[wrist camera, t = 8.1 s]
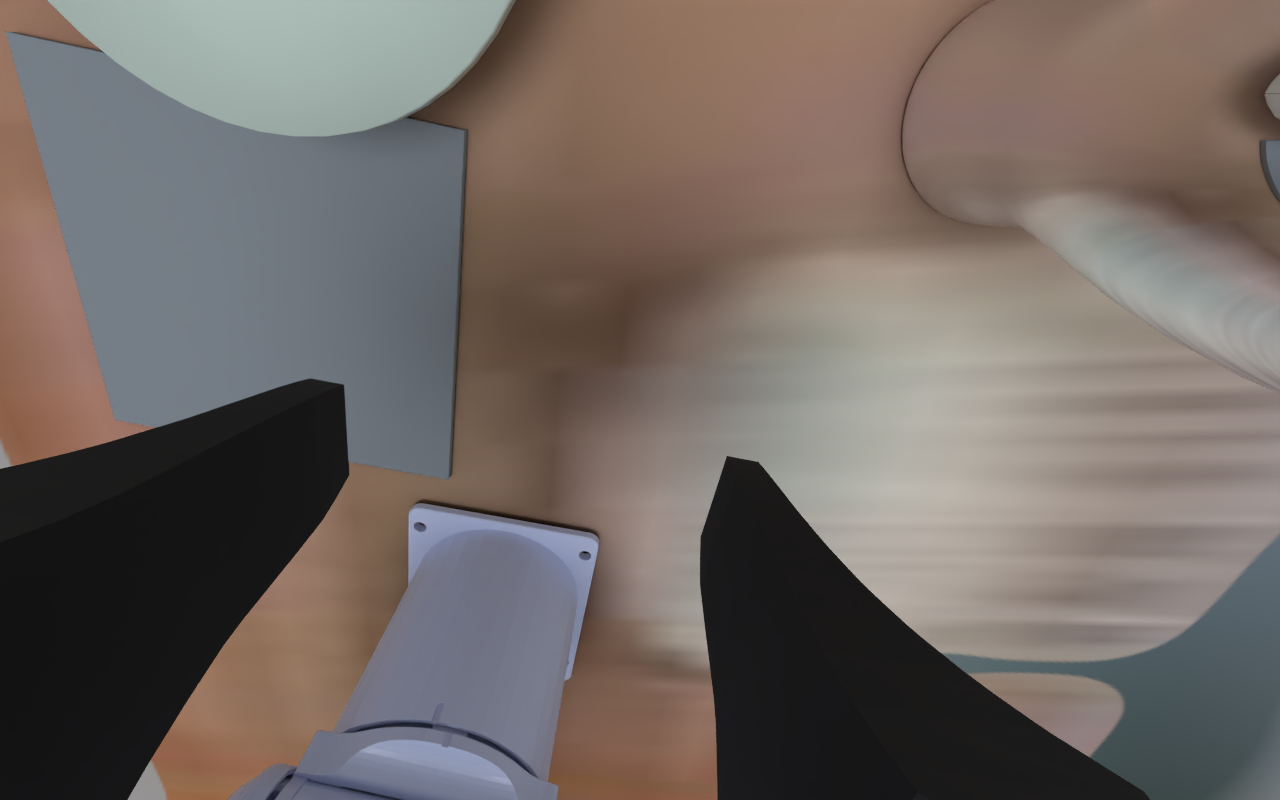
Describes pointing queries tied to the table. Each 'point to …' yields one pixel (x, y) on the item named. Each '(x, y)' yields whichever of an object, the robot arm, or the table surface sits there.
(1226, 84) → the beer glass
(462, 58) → the lid
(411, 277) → the mat
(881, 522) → the table surface
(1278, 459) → the table surface
